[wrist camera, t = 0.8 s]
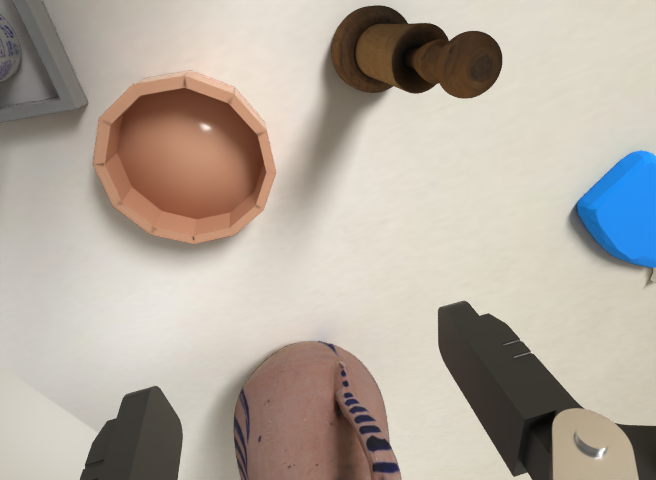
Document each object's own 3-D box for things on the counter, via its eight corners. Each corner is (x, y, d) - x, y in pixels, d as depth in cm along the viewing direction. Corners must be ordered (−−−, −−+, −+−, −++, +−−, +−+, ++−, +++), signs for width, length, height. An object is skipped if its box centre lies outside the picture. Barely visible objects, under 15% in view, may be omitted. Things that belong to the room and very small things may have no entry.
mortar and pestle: (338, 97, 34) (421, 153, 19) (324, 16, 31) (410, 3, 15) (407, 80, 34) (542, 120, 19) (400, -2, 31) (558, -33, 16)
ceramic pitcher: (232, 417, 52) (228, 688, 30) (237, 294, 42) (237, 566, 21) (351, 407, 56) (421, 638, 35) (381, 294, 47) (503, 517, 25)
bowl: (80, 89, 30) (60, 96, 26) (250, 60, 31) (251, 63, 28) (146, 235, 37) (137, 256, 33) (283, 205, 38) (287, 223, 35)
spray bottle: (582, 219, 44) (654, 301, 55) (662, 145, 41) (720, 247, 53) (563, 209, 47) (636, 289, 58) (637, 138, 44) (698, 237, 55)
